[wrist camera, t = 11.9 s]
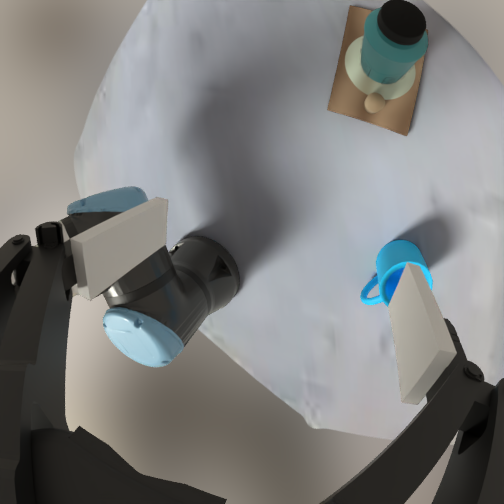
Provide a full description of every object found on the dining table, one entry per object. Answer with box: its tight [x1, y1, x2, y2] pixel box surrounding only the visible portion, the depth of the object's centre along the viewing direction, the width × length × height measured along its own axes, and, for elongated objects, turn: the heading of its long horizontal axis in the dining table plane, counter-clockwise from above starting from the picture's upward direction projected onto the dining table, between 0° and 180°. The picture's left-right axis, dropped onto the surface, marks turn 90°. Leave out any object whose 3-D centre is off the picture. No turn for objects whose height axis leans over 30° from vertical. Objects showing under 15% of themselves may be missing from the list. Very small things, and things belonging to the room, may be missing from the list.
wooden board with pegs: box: [327, 5, 428, 136], centre depth 30 cm, size 12×18×8 cm, turn 168°
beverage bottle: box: [360, 0, 428, 85], centre depth 23 cm, size 6×7×20 cm
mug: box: [360, 240, 433, 307], centre depth 41 cm, size 12×8×8 cm
